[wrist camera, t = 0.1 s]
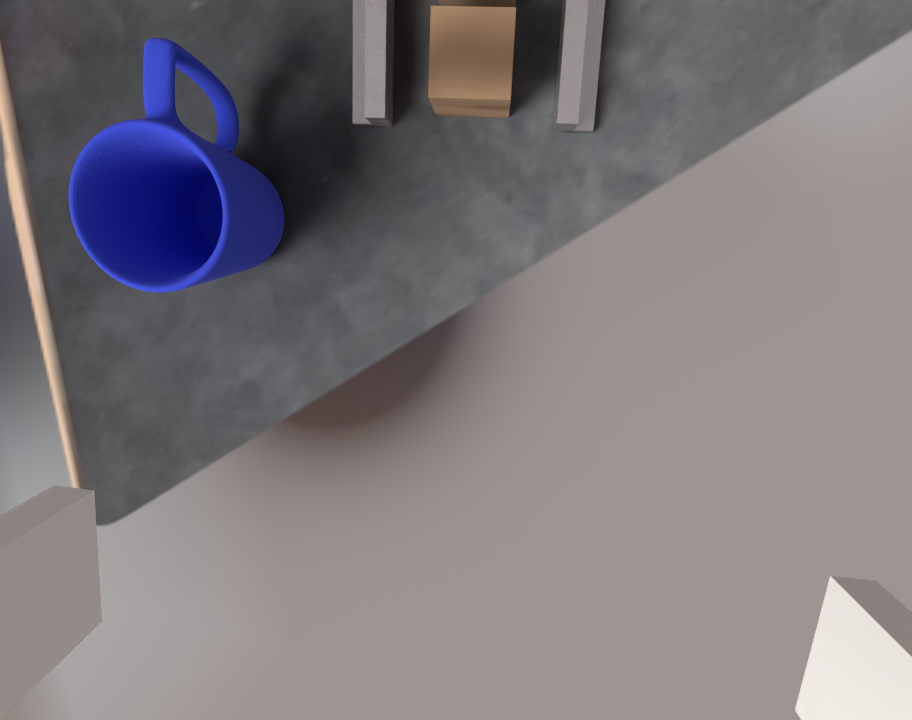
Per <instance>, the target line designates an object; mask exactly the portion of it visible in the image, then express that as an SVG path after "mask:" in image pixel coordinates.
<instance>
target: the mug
mask: <svg viewBox="0 0 912 720" xmlns="http://www.w3.org/2000/svg"><path fill="white" fill-rule="evenodd" d="M175 67H177V68H178V69H180V70H181V71H182V72H184V73H185V74H186V75H188V76H189V77H190V78H191V79H192V80H193V81H195V82H196V83H197V84H198V85H199V86H200V87H201V88H202V89H203V90H204V91H205V93H206V94H207V95H208V97H209V98H210V100H211V102H212V104H213V107H214V110H215V114H216V119H217V138H216V143H215V145H214V144H212V143H210V142H208V141H206V140H204V139H202V138H201V137H199V136H197V135H196V134H194V133H192V132H191V131H190V130H189V129H187V128H186V127H185V126H184V125H183V124H182V123H181V121H180V120H179V118H178V116H177V113H176V109H175ZM143 96H144V105H145V113H146V118H145V119H136V120H128V121H123V122H119V123H116V124H114V125H112V126H109V127H107V128H105V129H104V130H102V131H101V132H99V133H98V134H97V135H95V136H94V137H93V138H92V139H91V140H90V141H89V142H88V143H87V144H86V146H85V147H84V148H83V150H82V151H81V153H80V154H79V156H78V158H77V160H76V162H75V165H74V168H73V171H72V174H71V179H70V185H69V207H70V213H71V218H72V221H73V225H74V228H75V231H76V233H77V235H78V237H79V240H80V241H81V243H82V245H83V247H84V248H85V250H86V251H87V253H88V254H89V256H90V257H91V258H92V259H93V260H94V261H95V263H96V264H97V265H98V266H99V267H100V268H101V269H103V270H104V271H105V272H106V273H107V274H109V275H110V276H111V277H113V278H114V279H116V280H118V281H119V282H121V283H123V284H125V285H127V286H130V287H133V288H135V289H139V290H143V291H148V292H159V293H161V292H173V291H178V290H182V289H185V288H188V287H192V286H195V285H198V284H201V283H205V282H208V281H211V280H215V279H218V278H221V277H225V276H228V275H231V274H234V273H238V272H241V271H244V270H248V269H250V268H253V267H255V266H257V265H259V264H261V263H262V262H264V261H265V260H266V259H267V258H268V257H269V256H270V255H271V254H272V253H273V252H274V251H275V249H276V248H277V246H278V244H279V242H280V240H281V237H282V234H283V230H284V210H283V205H282V202H281V199H280V197H279V195H278V193H277V191H276V189H275V187H274V186H273V185H272V183H271V182H270V181H269V180H268V178H267V177H266V176H265V175H264V174H262V173H261V172H260V171H259V170H258V169H256V168H254V167H253V166H251V165H250V164H248V163H246V162H245V161H243V160H241V159H240V158H238V157H236V156H234V155H233V154H231V152H232V151H233V150H235V148H236V146H237V142H238V134H239V121H238V114H237V109H236V106H235V103H234V101H233V98H232V96H231V95H230V93H229V91H228V90H227V89H226V87H225V86H224V85H223V84H222V82H221V81H220V80H219V79H218V78H217V77H216V76H215V75H214V74H213V73H212V72H211V71H210V70H209V69H208V68H207V67H205V66H204V65H203V64H202V63H201V62H200V61H198V60H197V59H196V58H195V57H193V56H192V55H191V54H190V53H188V52H187V51H186V50H184V49H183V48H182V47H181V46H179V45H178V44H176V43H174V42H173V41H171V40H167V39H162V38H151V39H149V40H147V42H146V43H145V48H144V64H143Z"/></svg>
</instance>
